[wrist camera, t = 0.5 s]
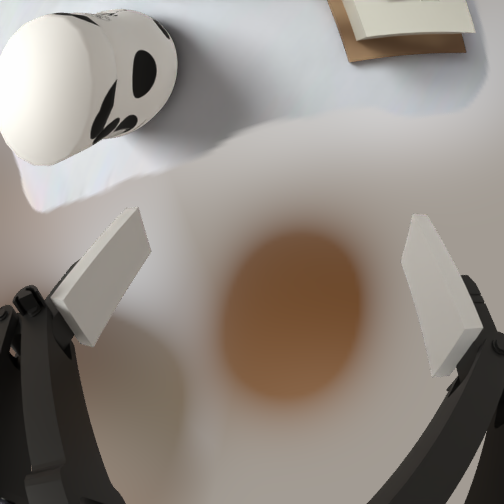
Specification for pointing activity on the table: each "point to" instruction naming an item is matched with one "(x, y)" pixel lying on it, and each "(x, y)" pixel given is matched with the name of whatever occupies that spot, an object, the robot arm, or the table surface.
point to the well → (407, 17)
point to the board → (391, 40)
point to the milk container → (82, 81)
